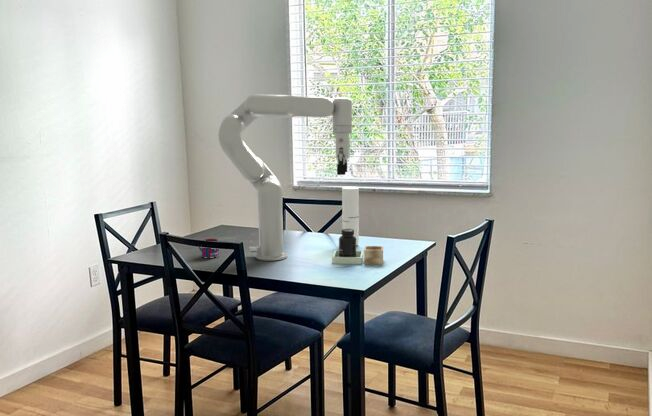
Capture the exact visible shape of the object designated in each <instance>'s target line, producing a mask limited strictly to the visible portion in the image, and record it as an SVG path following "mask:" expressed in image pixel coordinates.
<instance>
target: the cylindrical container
mask: <svg viewBox="0 0 652 416" xmlns="http://www.w3.org/2000/svg"><path fill="white" fill-rule="evenodd" d="M359 192H360V188H359V187H358V186H344V187H343V186H342V188H341V202H342V203H341V207H342V208H341V211H342V212H341V217H342V218H341V228H342V229H353V230H354V235H353V236H355V237H356V245H358V244H359V243H360V241H359V239H360V236H359V235H360V229H359V228H360V226H359V225H360V224H359V223H360V221H359V220H360V210H359V209H360V208H359V206H360V198H359V197H360V193H359ZM342 229H341V230H342ZM359 245H360V244H359ZM359 245H358V246H359Z"/></svg>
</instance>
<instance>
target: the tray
mask: <svg viewBox="0 0 652 416" xmlns="http://www.w3.org/2000/svg"><path fill="white" fill-rule="evenodd" d="M363 261H364V250H356V257H339V249H337V250H336V249H335V250H334V252H333V255H332V264H336V265H337V264H338V265H339V264H343V265H345V264H346V265H347V264H348V265H362V264H363Z"/></svg>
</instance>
